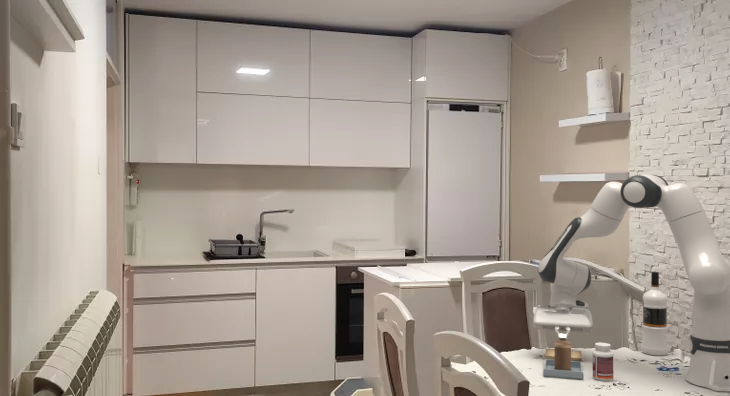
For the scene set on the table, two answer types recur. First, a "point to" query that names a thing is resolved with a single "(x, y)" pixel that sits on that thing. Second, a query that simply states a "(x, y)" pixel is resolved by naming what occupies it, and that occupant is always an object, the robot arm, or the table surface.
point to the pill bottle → (602, 362)
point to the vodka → (654, 320)
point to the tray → (574, 374)
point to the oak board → (574, 355)
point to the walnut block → (562, 355)
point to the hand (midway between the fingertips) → (562, 339)
